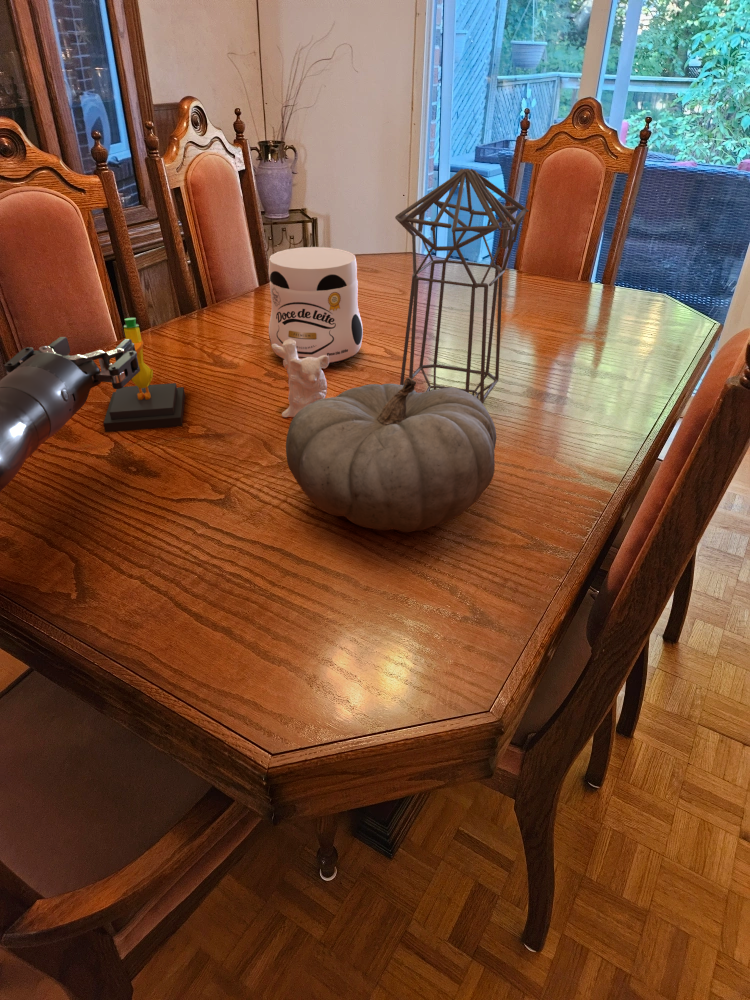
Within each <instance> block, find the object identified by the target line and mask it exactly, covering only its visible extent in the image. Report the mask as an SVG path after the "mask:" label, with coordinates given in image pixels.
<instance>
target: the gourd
mask: <svg viewBox="0 0 750 1000" xmlns="http://www.w3.org/2000/svg"><path fill="white" fill-rule="evenodd" d="M404 383H405V384H404V385H400V384H398V383H383V384H380V383H379V384H378V383H371V384H364V385H362V386H356V387H352V388H349V389H346V390H344V391H342V392H341V393H339V394H338V395H336V396H332V397H325V398H324V399H319V400H316V401H315V402H313V403H311V404H309V405H307V406H305V407H304V408H303V409H301V410H300V411H299V412H298V413H297V414H296V415H295V417H292V420H291V421H290V424H289V426H288V430H287V432H286V433H287V434H286V440H285V456H286V462H287V466H288V468H289V470H290V472H291V474H292V476H293V478H294V479H295V481H296V483H297V484H298V485H299V487H300V488H301V490H302V491H303V492H304V493H305V496H307V497H308V498H309V500H311V502H312V503H314V505H315V506H316V507H318V508H319V509H320V510H322V511H323V512H325V513H327V514H329V515H332V516H335V517H345V518H346V519H347V520H348V521H349V522H351V523H352V524H354V525H357V526H359V527H362V528H364V529H365V528H366V529H373V530H375V531H376V530H377V531H389V530H396V531H398V532H401V533H411V532H421V531H424V530H427V529H429V528H432V527H435V526H439V525H442V524H444V523H447V522H450V521H451V520H454V519H455V518H457V517H459V516H461V515H462V514H463V513H464V512H465V511H466V510H468V509H469V508H470V507H471V506H473V505H474V504H475V503H476V502H478V500H479V499H480V497H481V496H482V494H483V493H484V492H485V491H486V489H487V488H488V486H489V485H490V484H491V482H492V481H493V478H494V476H495V467H496V462H495V461H496V460H495V449H496V445H497V429H496V426H495V423H494V420H493V419H492V416H491V415H490V413H489V411H488V410H487V408H486V406H485V405H484V403H481V401H480V398H479V397H478V398H476V397H475V396H476V395H474V396H473V395H472V393H470V392H469V393H467V392H465V391H463V390H459V389H456V388H457V387H452V388H442V389H441V388H437V389H436V390H434V389H432V390H431V389H430V391H427V390H426V391H427V392H426V391H424V392H417V391H416V390H415V387H416V385H417V381H416V380H414V379H413V380H412V379H411V378H409V377H405V379H404Z"/></svg>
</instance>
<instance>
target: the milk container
mask: <svg viewBox="0 0 750 1000" xmlns="http://www.w3.org/2000/svg"><path fill="white" fill-rule="evenodd" d="M268 279H269V291H270V292H269V293H270V300H271V301H270V302H271V311H270V316H269V317H270V318H269V322H268V339H269V342H270V346H271V349H272V351H273V352H274V354H275V356H277V357H278V358H279V359H281V360H282V361H283V360H284V356H282V355H280V354H279V353H277V352H276V351H275V350H274V349H273V348H272V344H277V345H278V346H281V347H283V345H282V344H283V342H284V341H286V340H288V339H293V340H294V341H295V342H296V350H297V355H298V358H299V359H303V358H307V357H313V358H318V357H320V356H323V355H327V356H328V357H329V365H328V366H332V365H337V364H341V363H344V362H346V361H348V360H351V359H352V358H354V357H355V356H356V355H357V354H358V353H359V351H360V349H361V347H362V343H363V335H364V328H363V327H364V326H363V320H362V318H361V314H360V310H359V304H358V295H359V293H358V291H359V282H358V265H357V258H356V254H354V253H352V252H351V251H348V250H344V249H341V248H335V247H324V246H305V247H304V246H303V247H295V248H287V249H283V250H280V251H277V252H275V253H272V254H270V256H269V259H268Z"/></svg>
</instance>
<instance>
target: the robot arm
mask: <svg viewBox="0 0 750 1000" xmlns="http://www.w3.org/2000/svg"><path fill="white" fill-rule="evenodd" d="M70 353H71V347H70V343H69V340H68V338H67V337H66V336H60V337H58V338H56V339H55V340H54V341H52V342H51V343H50V344H48V345H42V346H40V347H38V350H34V348H33V347H32V346H31V347H29V346H27V347H23V348H22V349H21V350H20V351H18V352H17V353H16V354H15V355H14V356H13V357H11V358H10V359H9V360H8V361H6V363H5V364H3V365H4V368H5V372H6V375H5V376H3V378H2V379H0V492H2V491H3V490H4V489H5V488H6V487H7V486H8V485H9V484H10V483H11V481H12V480H14V478H15V477H16V476H17V474H18V473H19V472H20V470H21V469H22V467H23V465H24V464H25V462H26V460H28V458H30V457H31V456H32V455H33V454H34V453H35V452H36V451H37V450H38V449H39V448H40V447H41V446H42V445H43V444H44V443H45V442H46V441H47V440H49V439H50V438H52V437H53V436H54V435H56V434H57V433H58V432H59V431H61V429H62V428H63V427H64V426H65V425H66V424H67V423H68V422H69V421H70V420H71V419H72V418H73V417H74V416H75V414H77V413H78V411H80V409H81V408H82V407H84V405H85V404H86V402H87V400H88V397H89V394H90V392H91V390H92V389H93V388H95V387H97V386H99V385H100V384H102V383H111V385H112V389H114V390H116V389H120V388H123V387H126V385H127V384H128V383H129V382H130V381H132V380H131V379H132V378H133V377H134V376H135V375H136V374H137V373H138V372H140V367H139V364H138V359H137V353H136V351H135V346H134V343H132V340H131V339H126V338H124V339H123V340H122V341H121V342H120V343H119V344H118V345H117V346H116V347H115V348H114V349H111V350H109V351H108V350H107V351H103V350H102V349H98V350H95V351H91V352H88V353H85V354H80V353H79V354H74V355H70ZM112 359H115V362H113V363H111V360H112ZM95 360H98V362H99V367H98V365H97V363H96V362H95Z"/></svg>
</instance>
